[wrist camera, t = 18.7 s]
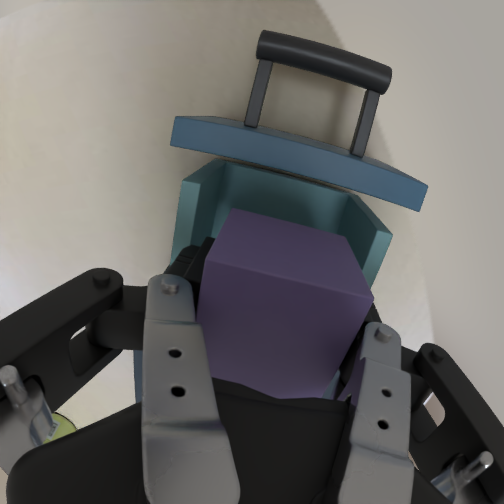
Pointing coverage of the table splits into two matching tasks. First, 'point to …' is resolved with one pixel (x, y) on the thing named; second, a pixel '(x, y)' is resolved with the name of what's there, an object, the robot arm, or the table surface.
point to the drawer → (293, 161)
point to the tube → (59, 428)
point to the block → (280, 305)
